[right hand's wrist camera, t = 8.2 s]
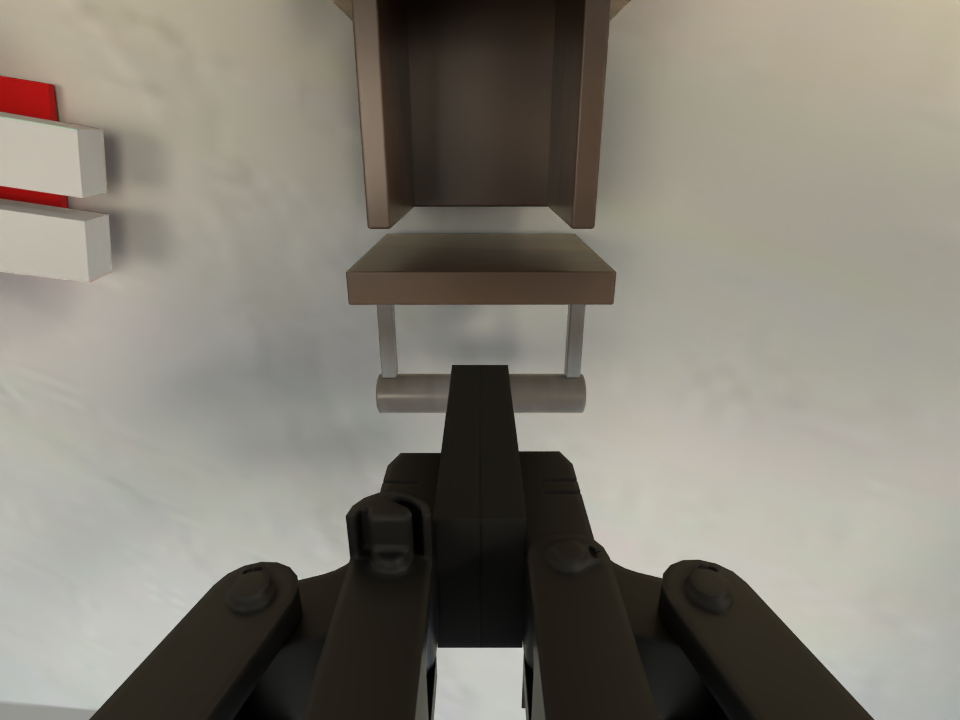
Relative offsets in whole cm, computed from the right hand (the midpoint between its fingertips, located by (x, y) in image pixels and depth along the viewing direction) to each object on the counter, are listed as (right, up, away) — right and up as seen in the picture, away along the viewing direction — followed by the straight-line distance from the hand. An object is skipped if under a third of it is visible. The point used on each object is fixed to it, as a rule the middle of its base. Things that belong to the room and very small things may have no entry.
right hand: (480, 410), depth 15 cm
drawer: (0, +11, +11) cm, 16 cm away
